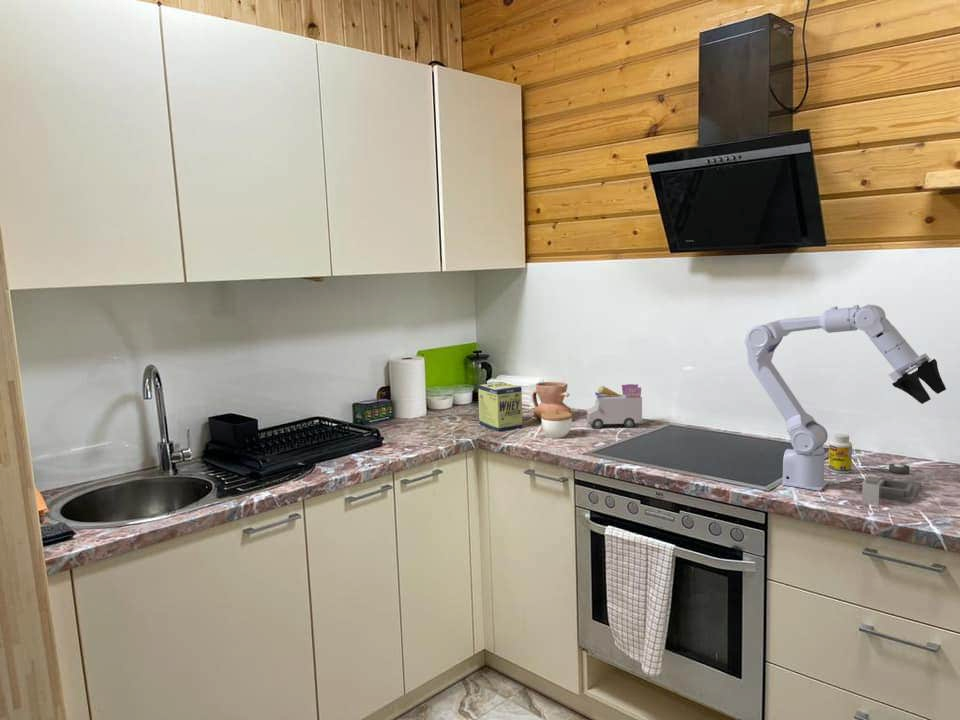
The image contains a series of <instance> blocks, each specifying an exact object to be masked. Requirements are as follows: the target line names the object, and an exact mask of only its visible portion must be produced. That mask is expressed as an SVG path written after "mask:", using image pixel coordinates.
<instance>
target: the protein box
mask: <svg viewBox="0 0 960 720" xmlns="http://www.w3.org/2000/svg"><path fill="white" fill-rule="evenodd" d="M477 386H478V418H479V419H478V420H479V423H478V424H479V425H480V426H484V427H485V428H488V429H490V430H492V429H493V431H495V430H496V431H495V432H497V431H498V433H499V431H501V432H506V431H505V430H507V431H512V430H511V429H514V430H518V429H517V428H521V429H523V399H522V397H523V396H522V395H523V394H522V391H523V390H522V389H523V388H522V386H519V385H514V384H512V383H508V382H503V381H497V382H489V383H482V384H481V383H480V384H477Z"/></svg>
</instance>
